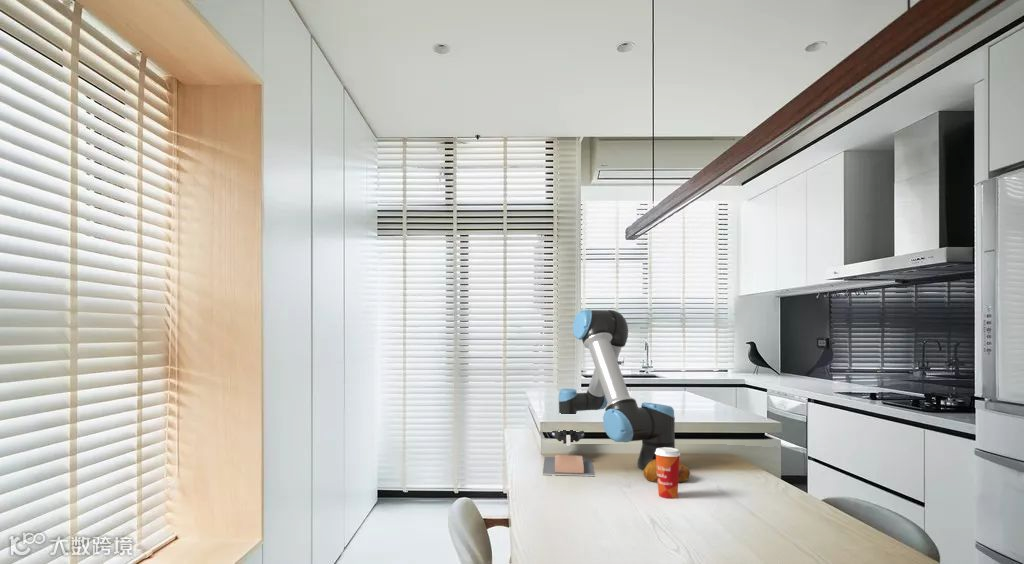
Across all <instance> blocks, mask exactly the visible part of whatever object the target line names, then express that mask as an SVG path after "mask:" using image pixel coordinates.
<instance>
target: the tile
mask: <svg viewBox="0 0 1024 564" xmlns="http://www.w3.org/2000/svg"><path fill="white" fill-rule="evenodd" d="M554 457H555V472H556V473H584V465H583V459H582V458H583V455H566V454H565V455H563V454H562V455H561V454H555V456H554Z"/></svg>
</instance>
